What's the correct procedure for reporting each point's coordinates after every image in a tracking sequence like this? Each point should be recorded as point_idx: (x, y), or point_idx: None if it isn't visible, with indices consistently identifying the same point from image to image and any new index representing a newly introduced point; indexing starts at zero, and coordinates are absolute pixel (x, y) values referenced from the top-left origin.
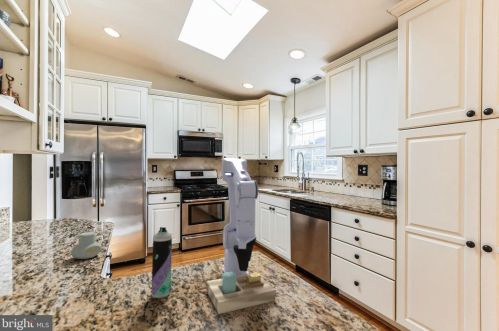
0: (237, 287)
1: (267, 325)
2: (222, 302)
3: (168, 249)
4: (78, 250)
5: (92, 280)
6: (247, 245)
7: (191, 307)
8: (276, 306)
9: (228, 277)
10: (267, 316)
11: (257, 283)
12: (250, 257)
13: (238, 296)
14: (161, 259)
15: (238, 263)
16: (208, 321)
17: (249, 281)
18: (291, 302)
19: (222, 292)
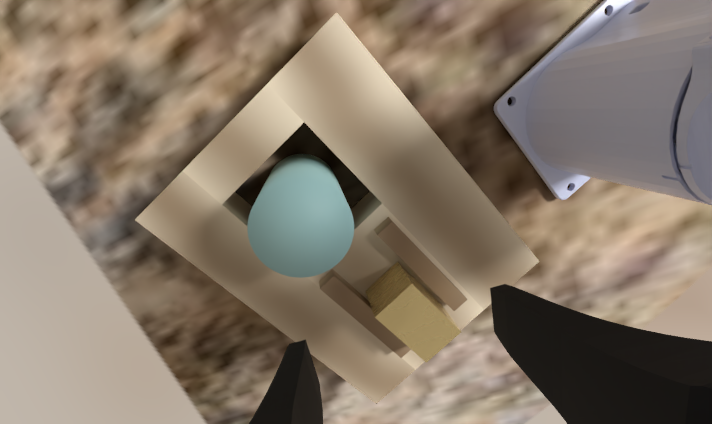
0: None
1: (194, 396)
2: (155, 232)
3: None
4: None
5: None
6: (602, 420)
7: (139, 33)
8: (327, 384)
9: (258, 244)
10: (247, 378)
11: (386, 334)
12: (513, 355)
13: (244, 284)
14: None
15: (271, 385)
16: (86, 185)
17: (373, 306)
18: (374, 419)
19: (271, 172)
